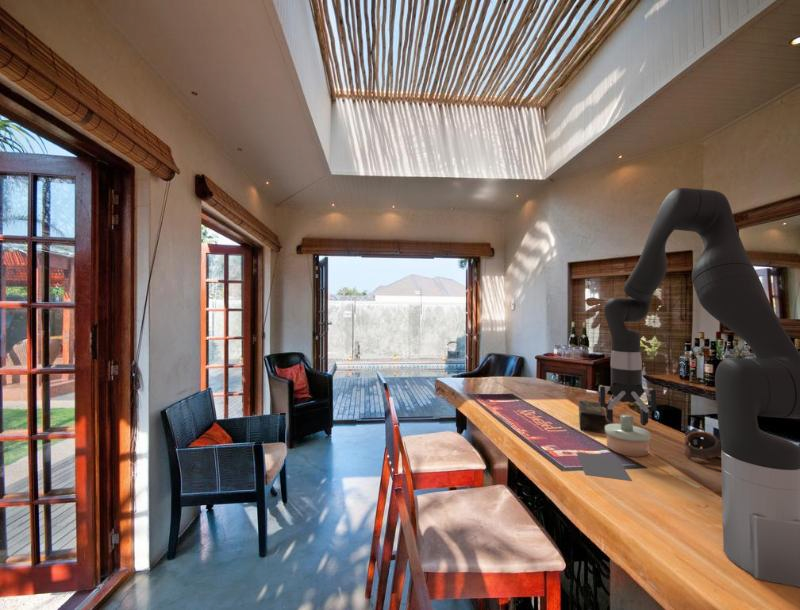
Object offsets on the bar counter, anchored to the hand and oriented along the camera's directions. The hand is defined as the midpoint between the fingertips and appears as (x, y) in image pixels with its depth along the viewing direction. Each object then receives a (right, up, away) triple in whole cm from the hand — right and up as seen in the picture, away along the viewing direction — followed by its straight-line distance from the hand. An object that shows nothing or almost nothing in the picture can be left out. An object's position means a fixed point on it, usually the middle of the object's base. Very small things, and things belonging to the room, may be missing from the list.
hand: (626, 423), depth 99 cm
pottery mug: (+19, -8, -4) cm, 21 cm away
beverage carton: (+3, -9, +25) cm, 27 cm away
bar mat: (-13, -8, -9) cm, 18 cm away
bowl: (0, -8, 0) cm, 8 cm away
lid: (0, -3, 0) cm, 3 cm away
